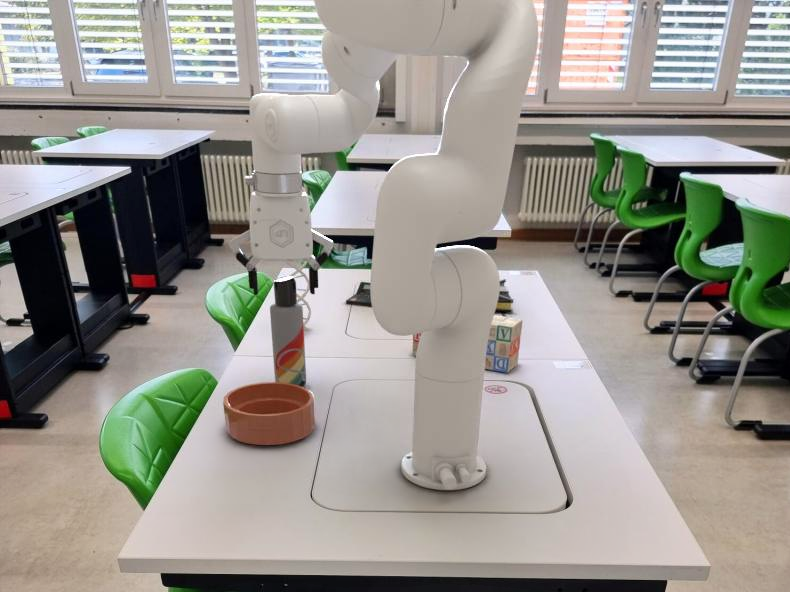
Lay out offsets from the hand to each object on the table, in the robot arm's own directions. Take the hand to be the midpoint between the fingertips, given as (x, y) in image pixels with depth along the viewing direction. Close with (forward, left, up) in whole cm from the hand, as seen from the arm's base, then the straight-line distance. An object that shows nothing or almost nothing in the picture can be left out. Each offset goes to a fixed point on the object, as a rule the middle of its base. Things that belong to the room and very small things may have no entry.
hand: (284, 292), depth 126 cm
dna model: (+34, -3, -18) cm, 38 cm away
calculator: (+60, -23, -18) cm, 66 cm away
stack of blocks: (+12, -36, -18) cm, 42 cm away
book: (+56, -50, -18) cm, 77 cm away
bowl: (-18, +4, -17) cm, 26 cm away
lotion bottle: (0, 0, -18) cm, 18 cm away
